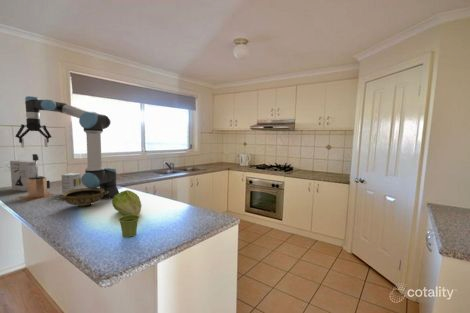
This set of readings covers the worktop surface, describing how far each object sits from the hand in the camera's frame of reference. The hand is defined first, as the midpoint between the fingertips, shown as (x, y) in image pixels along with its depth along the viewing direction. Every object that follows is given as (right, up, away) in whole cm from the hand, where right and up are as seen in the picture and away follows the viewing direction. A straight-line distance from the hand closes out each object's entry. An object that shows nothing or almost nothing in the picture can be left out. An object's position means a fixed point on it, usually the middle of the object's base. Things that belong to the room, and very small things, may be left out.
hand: (34, 147), depth 166 cm
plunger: (-1, -29, +3) cm, 29 cm away
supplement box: (+17, -38, +15) cm, 44 cm away
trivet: (-1, -38, +4) cm, 39 cm away
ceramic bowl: (+45, -41, -12) cm, 62 cm away
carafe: (0, -37, +5) cm, 37 cm away
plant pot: (+97, -46, -55) cm, 120 cm away
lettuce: (+83, -43, -26) cm, 97 cm away
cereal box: (-33, -36, +28) cm, 56 cm away
